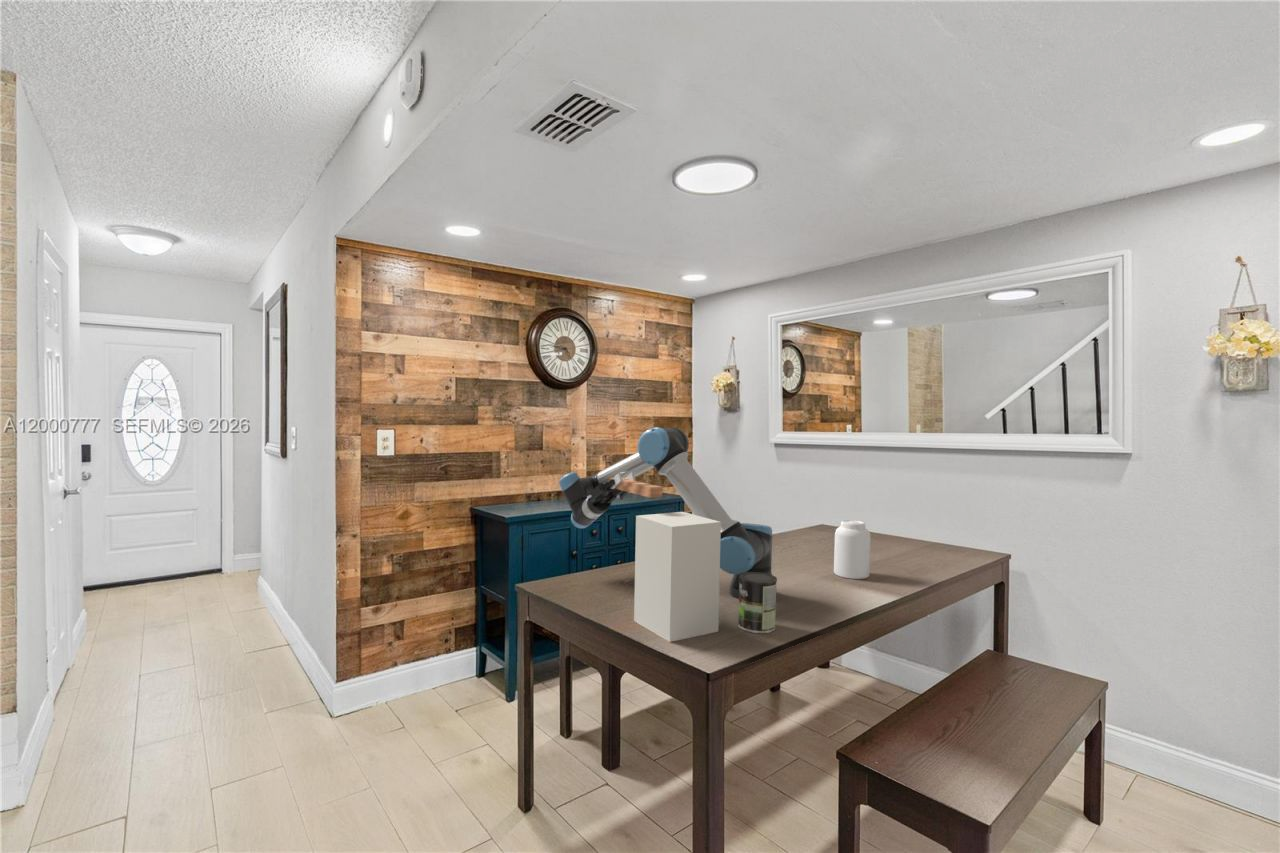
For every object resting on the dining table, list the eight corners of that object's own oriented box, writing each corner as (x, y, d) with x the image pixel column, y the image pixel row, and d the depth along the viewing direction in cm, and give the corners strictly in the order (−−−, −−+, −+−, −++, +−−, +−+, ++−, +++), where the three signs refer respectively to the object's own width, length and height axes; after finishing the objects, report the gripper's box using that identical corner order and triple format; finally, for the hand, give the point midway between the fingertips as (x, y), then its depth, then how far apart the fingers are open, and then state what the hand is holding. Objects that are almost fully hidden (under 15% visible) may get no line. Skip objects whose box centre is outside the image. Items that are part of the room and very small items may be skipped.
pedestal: (634, 620, 176) (636, 515, 175) (680, 612, 184) (682, 511, 183) (669, 642, 160) (672, 526, 159) (718, 631, 169) (720, 521, 168)
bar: (608, 486, 202) (608, 477, 201) (618, 486, 204) (619, 477, 203) (650, 497, 179) (651, 487, 179) (662, 497, 181) (662, 486, 181)
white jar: (874, 580, 223) (876, 525, 223) (839, 579, 223) (841, 524, 223) (862, 571, 236) (864, 518, 235) (829, 570, 236) (831, 518, 235)
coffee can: (743, 634, 167) (744, 582, 167) (734, 620, 178) (735, 572, 177) (780, 633, 168) (782, 582, 168) (769, 620, 178) (770, 571, 178)
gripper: (620, 512, 216) (652, 486, 198) (576, 516, 207) (605, 489, 189) (616, 492, 219) (647, 464, 201) (571, 495, 210) (600, 466, 192)
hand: (626, 476), depth 195 cm, fingers closed on bar, 4 cm apart
